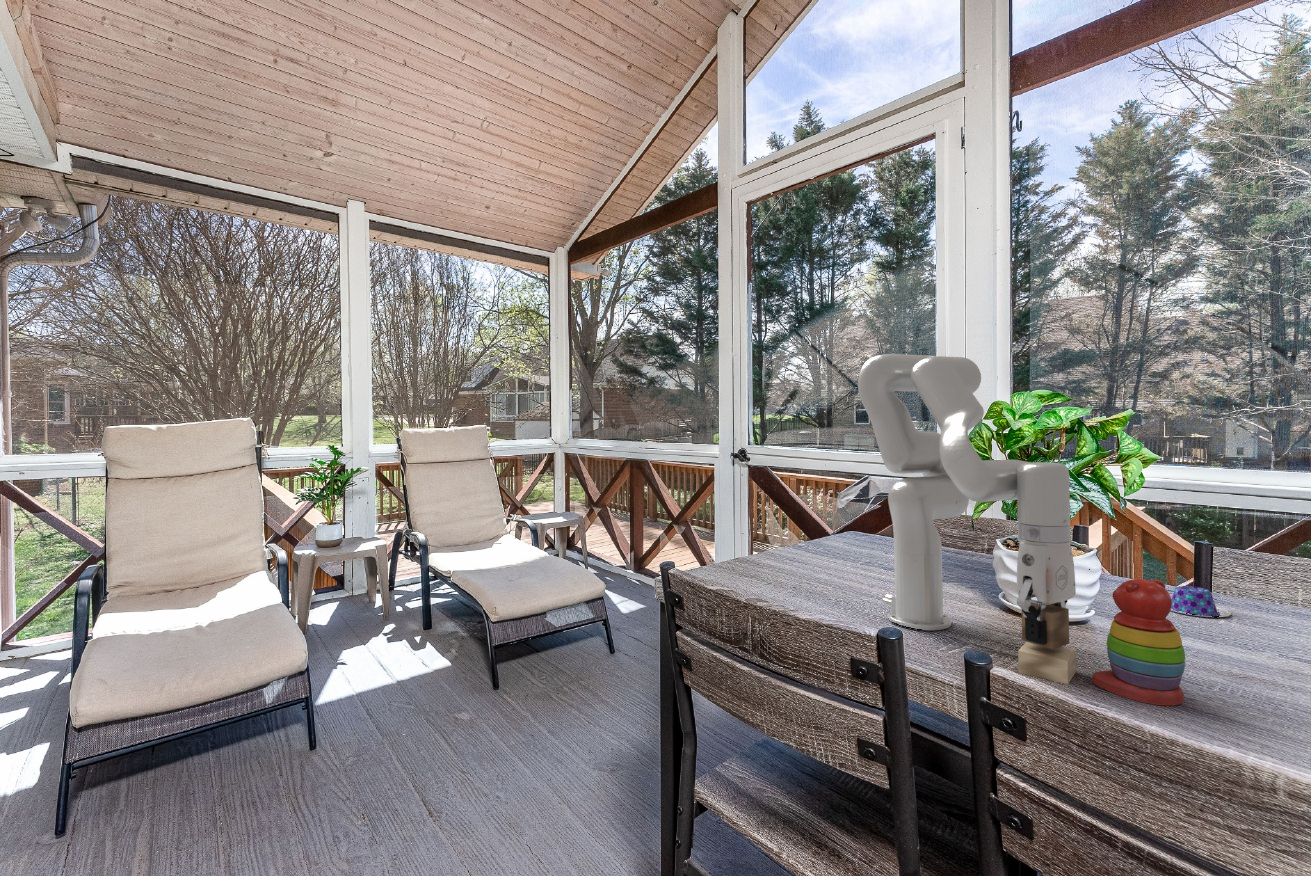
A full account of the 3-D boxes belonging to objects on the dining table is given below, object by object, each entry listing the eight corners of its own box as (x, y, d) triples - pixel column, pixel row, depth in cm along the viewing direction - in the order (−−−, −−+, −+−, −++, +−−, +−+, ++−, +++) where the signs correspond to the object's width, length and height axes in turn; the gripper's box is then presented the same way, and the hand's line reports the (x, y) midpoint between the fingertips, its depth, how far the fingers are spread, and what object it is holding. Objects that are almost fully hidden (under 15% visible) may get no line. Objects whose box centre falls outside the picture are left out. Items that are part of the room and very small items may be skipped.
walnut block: (1053, 649, 96) (1052, 613, 96) (1022, 640, 100) (1021, 605, 100) (1069, 643, 98) (1068, 608, 98) (1038, 634, 103) (1037, 601, 103)
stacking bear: (1148, 677, 96) (1146, 570, 96) (1208, 705, 86) (1206, 586, 86) (1084, 679, 95) (1083, 572, 95) (1138, 708, 85) (1136, 588, 85)
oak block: (1018, 673, 99) (1018, 650, 99) (1028, 661, 104) (1028, 639, 104) (1068, 685, 94) (1067, 661, 94) (1076, 672, 99) (1075, 649, 99)
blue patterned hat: (1151, 610, 131) (1150, 587, 131) (1166, 600, 138) (1165, 579, 138) (1224, 624, 121) (1223, 599, 121) (1236, 612, 128) (1236, 589, 128)
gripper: (1038, 542, 92) (1040, 656, 92) (1093, 532, 100) (1095, 636, 100) (992, 535, 99) (994, 641, 99) (1047, 526, 107) (1049, 624, 107)
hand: (1045, 637), depth 99 cm, fingers closed on walnut block, 4 cm apart
